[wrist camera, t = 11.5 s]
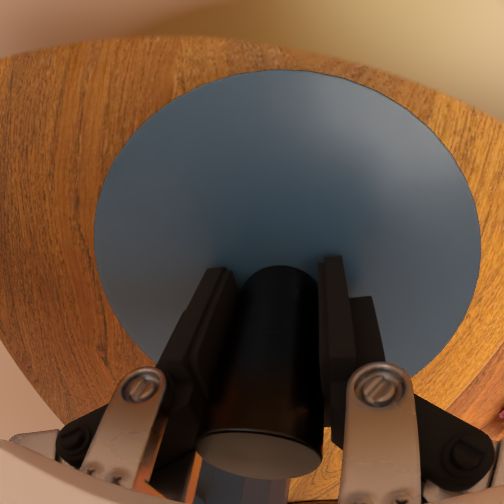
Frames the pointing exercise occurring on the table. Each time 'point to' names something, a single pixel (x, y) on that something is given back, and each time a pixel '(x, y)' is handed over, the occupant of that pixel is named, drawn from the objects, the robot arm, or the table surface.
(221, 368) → the pot lid
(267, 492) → the pot
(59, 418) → the table surface
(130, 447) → the robot arm
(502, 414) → the flower
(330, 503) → the wooden container
